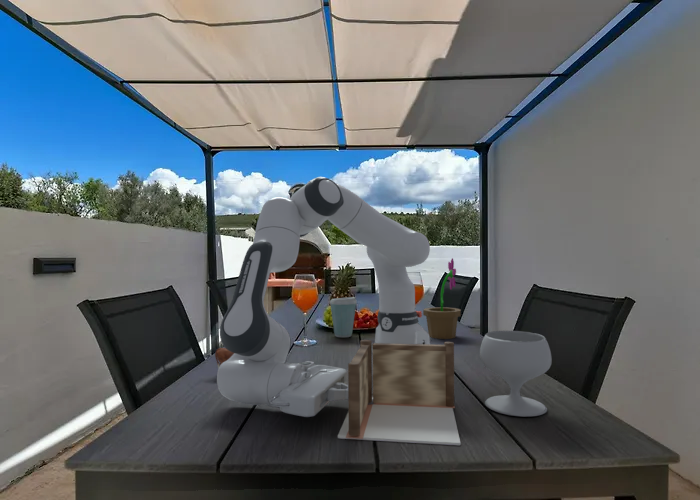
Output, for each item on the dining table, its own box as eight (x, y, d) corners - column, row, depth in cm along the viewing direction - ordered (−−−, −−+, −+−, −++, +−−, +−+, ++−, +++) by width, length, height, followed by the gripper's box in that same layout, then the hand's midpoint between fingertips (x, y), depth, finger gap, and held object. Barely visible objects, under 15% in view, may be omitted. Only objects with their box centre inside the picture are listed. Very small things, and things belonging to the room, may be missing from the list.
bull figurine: (260, 378, 113) (259, 347, 113) (212, 376, 116) (212, 345, 116) (266, 374, 117) (266, 343, 117) (220, 371, 120) (220, 342, 120)
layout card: (354, 398, 97) (354, 396, 97) (453, 402, 94) (453, 400, 94) (337, 439, 76) (337, 436, 76) (463, 446, 73) (463, 444, 73)
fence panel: (360, 402, 92) (360, 344, 92) (370, 402, 92) (369, 344, 92) (347, 435, 76) (347, 365, 76) (359, 436, 75) (358, 365, 75)
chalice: (546, 425, 81) (546, 345, 81) (472, 411, 88) (471, 338, 89) (556, 403, 93) (555, 333, 93) (489, 392, 100) (489, 327, 100)
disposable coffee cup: (327, 338, 165) (326, 298, 165) (332, 333, 175) (332, 295, 175) (354, 339, 163) (354, 299, 163) (358, 333, 174) (358, 296, 174)
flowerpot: (466, 339, 160) (465, 258, 160) (427, 340, 160) (426, 258, 160) (456, 332, 174) (455, 257, 174) (420, 333, 174) (419, 258, 174)
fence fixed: (360, 405, 93) (359, 341, 93) (361, 401, 95) (361, 339, 95) (454, 409, 90) (454, 344, 90) (453, 405, 92) (453, 341, 92)
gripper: (265, 385, 79) (337, 393, 74) (310, 359, 98) (369, 364, 94) (265, 420, 78) (337, 431, 74) (310, 387, 98) (369, 393, 94)
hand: (355, 393), depth 84 cm, fingers closed
